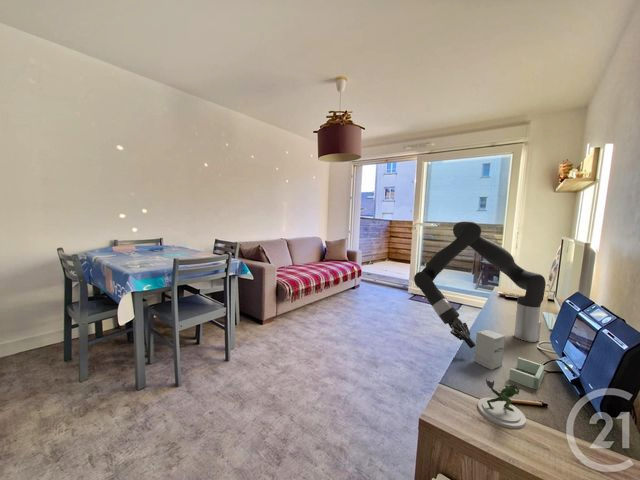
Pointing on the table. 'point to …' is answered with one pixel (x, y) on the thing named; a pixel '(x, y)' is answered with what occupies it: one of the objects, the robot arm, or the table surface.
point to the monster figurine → (502, 407)
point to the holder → (527, 378)
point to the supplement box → (489, 349)
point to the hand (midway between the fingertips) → (473, 347)
